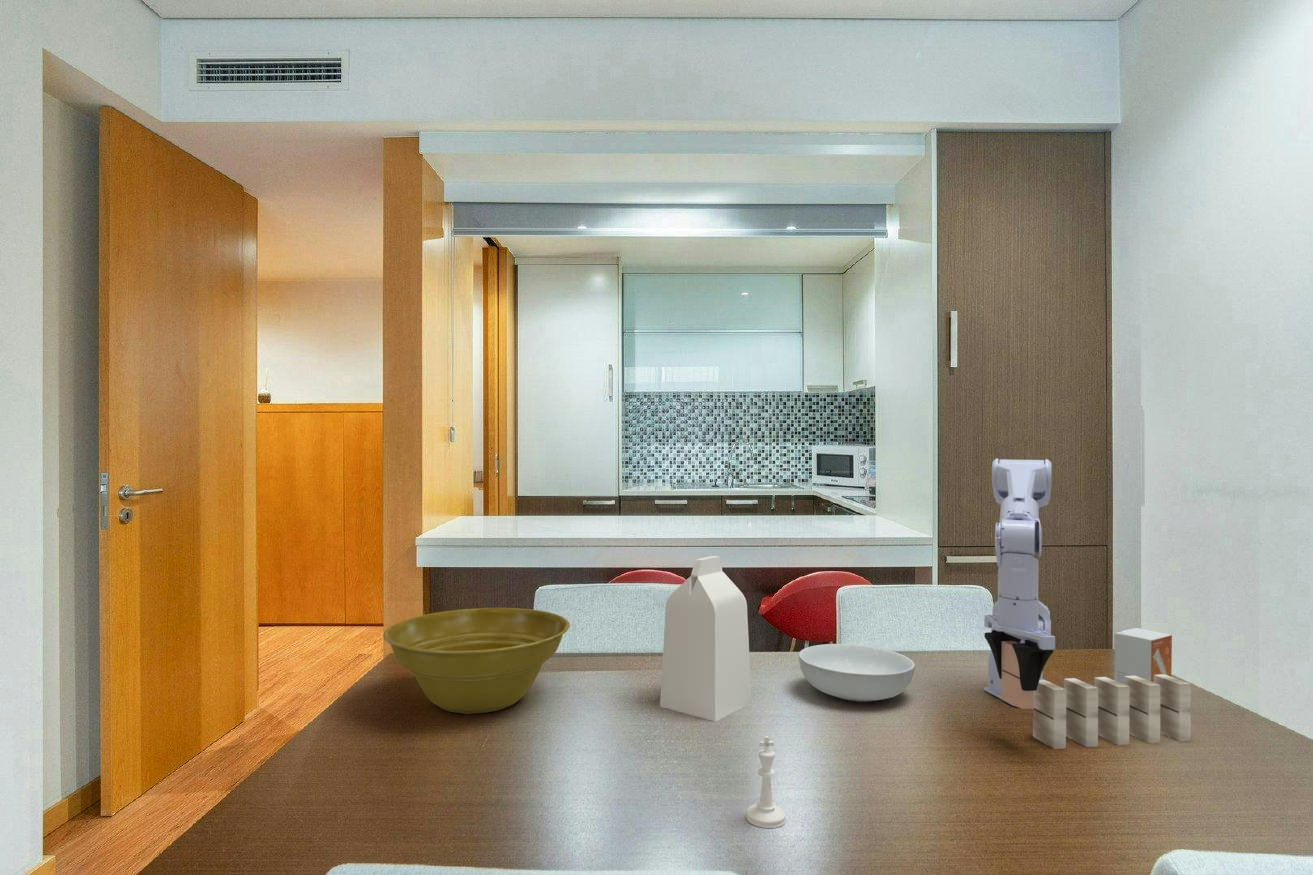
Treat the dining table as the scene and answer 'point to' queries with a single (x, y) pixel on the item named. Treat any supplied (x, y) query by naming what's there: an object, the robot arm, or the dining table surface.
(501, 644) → the planter bowl
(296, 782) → the dining table surface
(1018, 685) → the head domino
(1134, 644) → the small box
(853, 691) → the serving bowl
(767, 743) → the chess piece
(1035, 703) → the domino
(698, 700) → the milk
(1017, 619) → the robot arm
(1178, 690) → the domino
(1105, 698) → the domino
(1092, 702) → the domino
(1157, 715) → the domino
